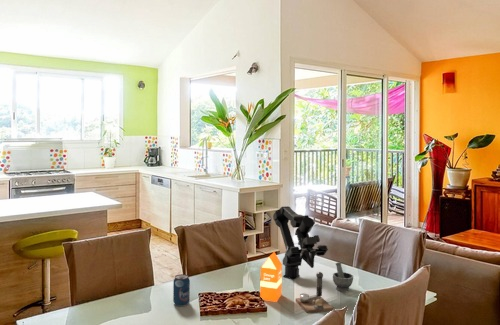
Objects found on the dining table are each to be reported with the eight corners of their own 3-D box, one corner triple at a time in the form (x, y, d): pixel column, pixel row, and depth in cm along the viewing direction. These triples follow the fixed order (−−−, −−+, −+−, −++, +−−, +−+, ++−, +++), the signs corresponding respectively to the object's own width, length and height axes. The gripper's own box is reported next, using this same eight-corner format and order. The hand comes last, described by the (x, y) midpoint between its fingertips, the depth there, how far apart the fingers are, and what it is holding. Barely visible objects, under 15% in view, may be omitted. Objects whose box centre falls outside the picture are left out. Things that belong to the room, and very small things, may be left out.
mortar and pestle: (356, 292, 192) (357, 267, 191) (338, 293, 189) (339, 268, 189) (344, 283, 203) (345, 260, 202) (327, 285, 200) (328, 261, 200)
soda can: (182, 308, 170) (182, 280, 170) (169, 304, 174) (170, 277, 173) (192, 302, 176) (193, 275, 175) (180, 299, 180) (181, 272, 179)
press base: (295, 301, 180) (295, 290, 180) (320, 298, 183) (320, 288, 183) (307, 313, 167) (307, 302, 167) (333, 310, 171) (334, 299, 170)
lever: (298, 300, 177) (298, 273, 177) (318, 295, 183) (319, 270, 182) (303, 303, 174) (304, 276, 173) (324, 298, 179) (325, 273, 179)
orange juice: (281, 294, 187) (282, 252, 186) (276, 302, 179) (277, 257, 178) (265, 292, 190) (266, 250, 188) (259, 299, 181) (260, 255, 180)
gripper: (290, 230, 189) (299, 260, 179) (326, 228, 194) (337, 257, 184) (284, 242, 197) (292, 272, 187) (319, 240, 202) (328, 269, 192)
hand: (312, 267), depth 187 cm, fingers closed
